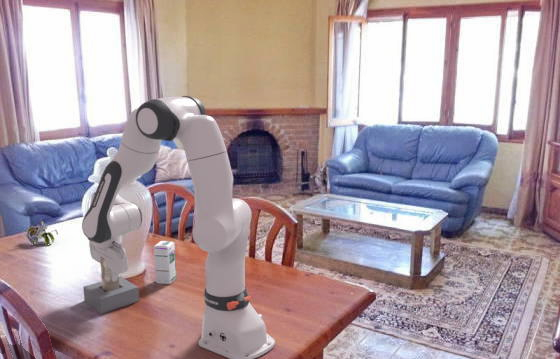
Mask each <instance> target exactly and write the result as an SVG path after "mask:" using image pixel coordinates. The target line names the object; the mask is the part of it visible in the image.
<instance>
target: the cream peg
mask: <svg viewBox="0 0 560 359" xmlns="http://www.w3.org/2000/svg"><path fill="white" fill-rule="evenodd" d="M100 261H101V265H100V268H101V269H100V270H101V271H100V272H101V281H102V288H103V291H105V292H109V291H112V290H115V289H119V276H120V274H118V275H117V278H118V280H117V281H114V282H113V281H111V280H110V276H111V274H112V272H111V269H109V268H107V264H106V260H105V259H104V258H102V257H100Z"/></svg>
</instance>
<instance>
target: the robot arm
mask: <svg viewBox="0 0 560 359" xmlns="http://www.w3.org/2000/svg"><path fill="white" fill-rule="evenodd" d="M173 140H177V141H179V142H180V143H181V145H182V146H183V149H184V153H185V157H186V161H187V165H188V169H189V173H190V178H191V182H192V186H193V192H194V193H193V194H194V195H193V196H194V224H193V228H192V238H193V241H194V243H195V245H196V246H197V247H198V248H199V249H200V250H202V251H204V252H206V253H208V254H207V256H206V259H205V266H204V267H205V269H204V270H205V287H204V288H205V289H204V294H203V298H204V304H205V307H204V308H205V309H204V311H203V313H202V314H203V315H202V319H201V320H202V321H201V336H200V339H198V346H200V348H203V349H206V350H208V351H210V352H213V353H215V354H218V355H220V356H222V357H225V358H228V359H256V358H259V357H260V356H263V355H264V354H266V353H268V352H269V351H271V350H272V349H273V348H274V347H275V344H276V340H275V339H274V338H273V337H272V336H271V335H269V334H268V333H267V327H266V324H265V321H264V317H263V314H261V313H257V311H256V310H255V308H254V307H253V306H252V304H251V303H250V300H252V298H251V297H252V295H249V294H248V293H249V292H248V290H247V287H246V283H245V282H246V280H245V279H246V277H245V276H246V274H245V273H246V271H245V270H246V269H245V268H246V266H245V264H246V262H245V261H246V256H247V248H248V240H249V230H250V224H251V220H252V216H253V215H252V210H251V207H250V206H249V204H248V203H247V202H246V201H245V200H244V199H240V198H236V197H235V198H233V187H234V186H233V185H234V175H233V172H232V167H231V162H230V158H229V155H228V151H227V147H226V142H225V140H224V138H223V135H222V132H221V130H220V127H219V125H218V123H217V121H216V120H215V119H214V117H213V116H210V115H207V112H206V108H205V106H204V104H203V103H202V102H201V100H199V99H198V98H196V97H193V96H189V95H183V96H165V97H160V98H154V99H150V100H147V101H145V102H144V103H142V104H141V105H139V107H137V108H134V110H132V112H131V113H130V115H129V117H128V119H127V121H126V124H125V126H124V128H123V133H122V136H121V141H120V144H119V147H118V149H117V151H116V153H115V155H114V157H113V158H112V159H111V161H110V162H109V163H108V164H107V166H105V168H104V170H103V172H102V174H101V177H100V180H99V183H98V185H97V187H96V191H95V192H93V194H91V198H90V207H89V208H88V210H87V211H86V213H85V215H84V216H83V219H82V221H81V222H82V223H81V229H82V233H83V235H84V236H85V237H86V239H87V240H88V241H89V242H88V243H89V244H88V245H89V252H90V256H91V258H92V259H93V260H94V261H95V262H97V263H99V265H100V266H101V261H100V257H102V258H104V259H105V260H106V264H107V268H109V269H111V272H112V274H111V276H110V280H111V281H113V282H114V281H117V280H118V278H117V275H118V274H119V275H121V274H124V273H126V272H128V270H129V262H128V256H127V252H126V249H125V248H123V246H122V243H123V239H122V238H123V237H122V236H123V235H126V234H129V233H132V232H135V231H137V230H139V229H140V228H141V226H142V222H143V214H142V210H141V208H140V207H139V205H137V204H136V203H134V202H131V201H128V200H126V199H124V198H123V197H121V196H120V194H119V192H120V191H121V190H122V188H123V187H125V186H126V185H127V184H129V183H131V181H133V180H135V179H138V177H141V176H143V175H145V174H147V173H148V172H149V171H151V170H152V169H153V168H154V166H155V165H156V162H157V160H158V158H159V153H160V149H161V146H162V141H166V142H172V141H173Z"/></svg>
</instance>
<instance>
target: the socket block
mask: <svg viewBox="0 0 560 359" xmlns="http://www.w3.org/2000/svg"><path fill="white" fill-rule="evenodd" d="M83 298H84V302H85V303H87V304H88V305H89V306H91V308H93V309H95V310H96V311H97V312H99V313H100V314H102V315H103V314H106V313H108V312H111V311H114V310H117V309H120V308H123V307H126V306H129V305H131V304H132V305H133V304H136V303H137V302H138V303H139V301H140V291H139V286H138V285H136V284H134V283H132V282H131V281H130V280H128V279H126V278H124V277H122V276H121V275H119V289H115V290H112V291H109V292H105V291H103V288H102V280H101V281H99V282H95V283H92V284H91V283H90V284H87V285H84V286H83Z"/></svg>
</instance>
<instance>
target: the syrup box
mask: <svg viewBox="0 0 560 359" xmlns="http://www.w3.org/2000/svg"><path fill="white" fill-rule="evenodd" d="M175 245H176V244H175V241H173V240H171V241H170V240H160V241H159V242H158V243H156V244H155V245H154V246H153V253H154V254H153V256H154V269H155V281H156V282H155V283H156V284H160V285H161V284H162V285H171V284H172V283H173V282H174V281H176V280H177V277H178V275H177V262H176V261H177V260H176V246H175Z"/></svg>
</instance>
